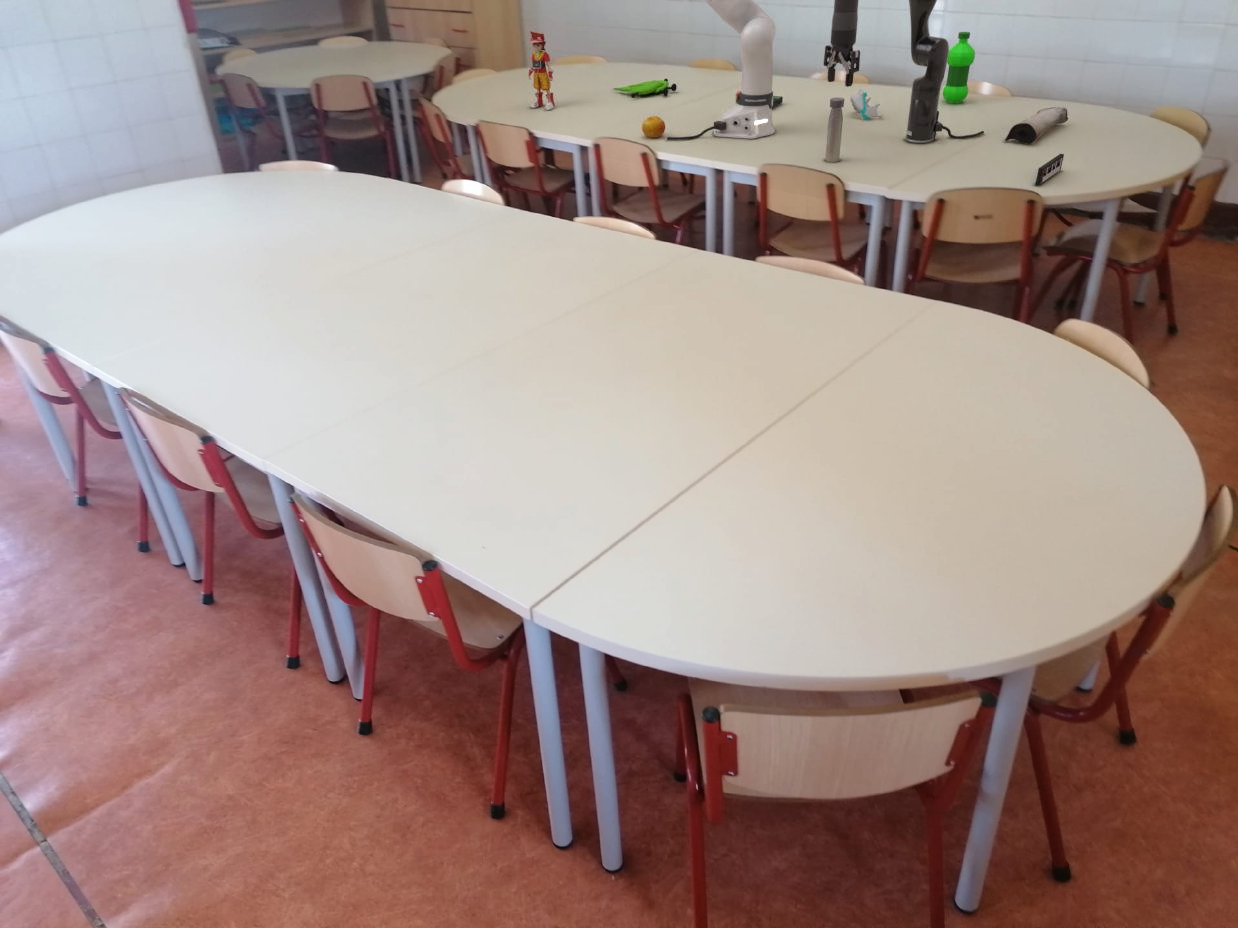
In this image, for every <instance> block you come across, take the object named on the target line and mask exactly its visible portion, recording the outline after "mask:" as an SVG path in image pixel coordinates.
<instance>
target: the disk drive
mask: <svg viewBox="0 0 1238 928" xmlns="http://www.w3.org/2000/svg"><path fill="white" fill-rule="evenodd" d="M783 99H784V97H783V96H778V95H773V106H772V109H774V108H777V106H779V105H782V103H783V102H784V101H783Z"/></svg>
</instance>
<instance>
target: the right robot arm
mask: <svg viewBox="0 0 1238 928" xmlns="http://www.w3.org/2000/svg"><path fill="white" fill-rule="evenodd" d="M833 1H834V3H833V14H832V19H831V31H830V44H827V45H825V47H824V55H823V66H824V67H826V69H827V82H828V83H833V82H835V80H836V67H837V65H838V64H840V65H842V67H843V68H844V70H845V72H846V73H845V82H844V87H847V88H849V87H852V86H853V83H854V74H855V73H857V72H859V71H860V63H861V51H860V50H859V49H858V50H854V46H855V44H856V42H857V32H858V19H859V13H858V11H859V0H833ZM937 1H938V0H908V4H909V17H910V54H911V60H912V62H913V63H914V65H916V66H920V67H926V70H925V73H924V75H923V76H918V77H915V78H914V79H913V81H912V86H911V95H910V103H909V112H908V119H907V125H906V134H905V141H906V142H908V143H912V144H929V143H932V142H933V141H935V140H936V138H937V137H936V136H937V133H938V132H942V131H943V130H944V131H946V132H947V135H948V137H949V138H951V139H956V140H957V139H958V140H963V139H971V138H976V137H978V136H981V135H984V134H985V131H984V130H981V131H978V132H977V133H973V134H966V135H954V134H952V132H951V129H950V127H947V126H945V125H943V123H942V122H940V121H939V116H940V111H939V110H938V108H939V101H940V95H941V87H942V84H943V81H944V78H945V74H946V69H947V64H948V63H947V60H948V54H949V50H950V45H949V41H948V40H947V39H946V38H944V37H938V36H931V34H930V29H929V22H930V17H931V15H932V12H933V10H934V8H935V6H936V4H937Z"/></svg>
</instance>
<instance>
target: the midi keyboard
mask: <svg viewBox="0 0 1238 928" xmlns="http://www.w3.org/2000/svg"><path fill="white" fill-rule="evenodd" d="M1064 157H1065V153H1059V154H1058V155H1056V156H1055V157H1052V159H1051V160H1049V161H1047V162H1045V164H1042V165H1041V166H1039V167H1038V169H1037V175H1036V179H1035V186H1040V185H1042V183H1044V182H1045V181H1047V180H1048V179H1049V178H1051V177H1052V176H1054V175H1055V174H1056V173H1058V172H1060V171H1061V170H1062V165H1063V161H1064Z"/></svg>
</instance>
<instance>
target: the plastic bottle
mask: <svg viewBox="0 0 1238 928" xmlns="http://www.w3.org/2000/svg"><path fill="white" fill-rule="evenodd" d="M970 36H971V32H970V31H959V32H958V36H957V39H958V42H957V43H956V44H954V45H953V46H952V47H951V48H949V54H948V60H947V64H948V69H947V70H948V71H947V76H946V77H947V78H946V84H945V85H944V87H943V90H942V97H943V99H944V100H945V101H946V102H947V103H948V104H960V103H961V102H963V101H964V100H966V98H967V96H968V95H969V85H968V79H969V73H970V67H971V65H972V64H973V63H974V61H975V57H976V51H975V49H974V47H972V45H971V44H970V43H969V42H968V41H969V39H970V38H971V37H970Z"/></svg>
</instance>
